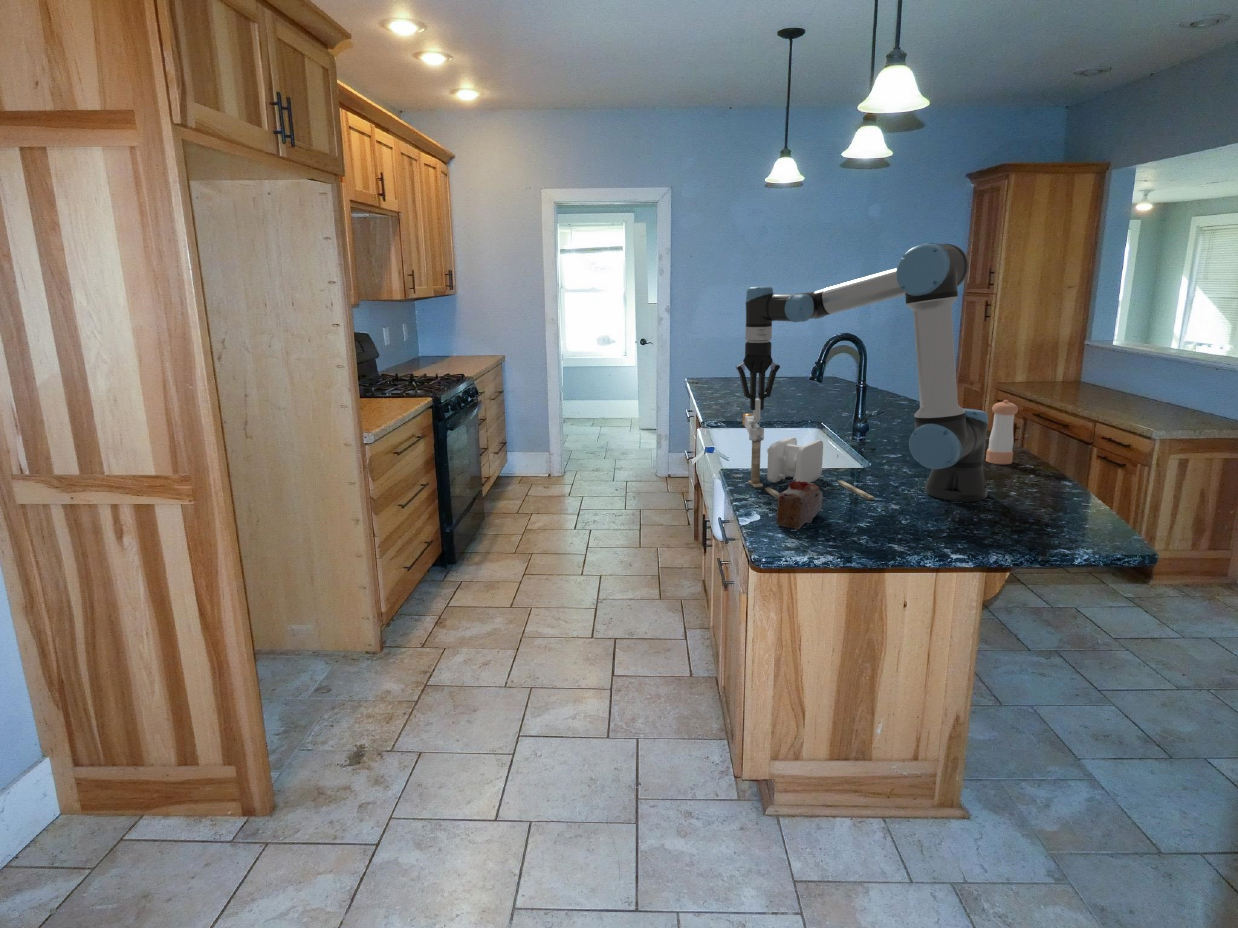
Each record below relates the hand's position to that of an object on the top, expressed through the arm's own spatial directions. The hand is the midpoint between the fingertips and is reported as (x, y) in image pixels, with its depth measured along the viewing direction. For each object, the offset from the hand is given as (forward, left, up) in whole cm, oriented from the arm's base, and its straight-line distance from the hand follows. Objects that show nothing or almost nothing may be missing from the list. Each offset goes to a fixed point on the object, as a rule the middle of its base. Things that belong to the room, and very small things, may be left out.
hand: (756, 420), depth 219 cm
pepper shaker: (-15, -74, -15) cm, 77 cm away
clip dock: (-25, -5, -15) cm, 29 cm away
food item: (-45, +9, -16) cm, 49 cm away
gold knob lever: (-6, +4, -2) cm, 7 cm away
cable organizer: (-15, -5, -16) cm, 22 cm away
